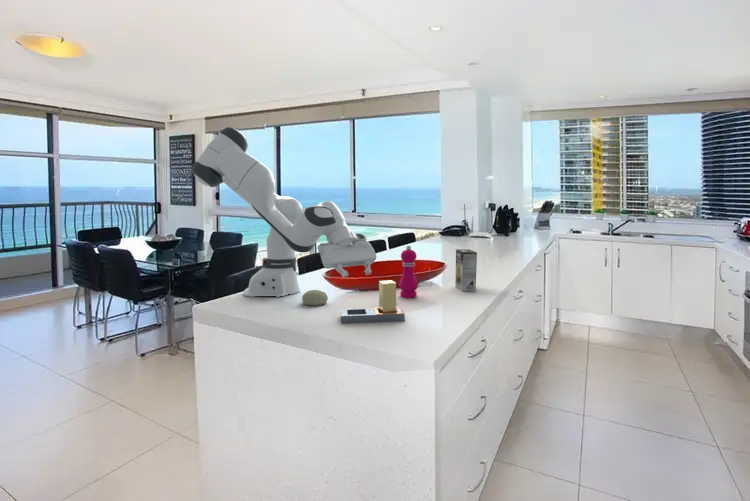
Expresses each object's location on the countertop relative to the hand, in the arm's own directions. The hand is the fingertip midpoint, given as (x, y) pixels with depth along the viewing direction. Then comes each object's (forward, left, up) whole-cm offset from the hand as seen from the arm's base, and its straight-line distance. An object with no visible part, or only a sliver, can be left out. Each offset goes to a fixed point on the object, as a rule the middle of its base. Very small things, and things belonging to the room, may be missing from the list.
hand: (357, 275), depth 144 cm
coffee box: (+47, +32, -14) cm, 59 cm away
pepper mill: (+21, +22, -14) cm, 34 cm away
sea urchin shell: (-15, +16, -14) cm, 26 cm away
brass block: (+9, -6, -13) cm, 17 cm away
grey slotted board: (+4, -6, -13) cm, 15 cm away
